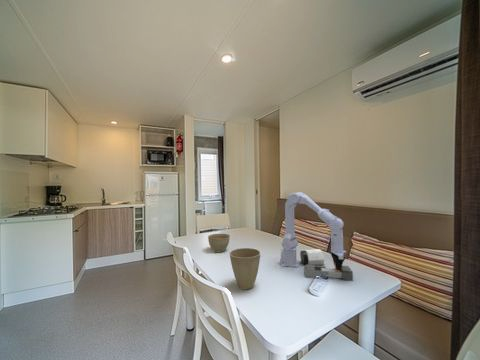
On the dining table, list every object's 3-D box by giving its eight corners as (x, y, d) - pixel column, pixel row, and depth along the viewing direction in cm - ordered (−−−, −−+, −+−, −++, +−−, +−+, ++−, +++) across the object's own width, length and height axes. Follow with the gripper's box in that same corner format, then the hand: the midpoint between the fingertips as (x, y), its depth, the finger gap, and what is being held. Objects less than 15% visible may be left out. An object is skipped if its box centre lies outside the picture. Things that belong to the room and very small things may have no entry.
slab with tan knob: (322, 276, 107) (321, 263, 107) (320, 273, 110) (320, 260, 111) (349, 278, 104) (349, 265, 104) (347, 275, 108) (346, 262, 108)
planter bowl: (229, 254, 145) (229, 238, 146) (206, 254, 146) (206, 239, 146) (230, 247, 161) (230, 233, 162) (210, 247, 162) (209, 233, 162)
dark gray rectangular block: (343, 280, 103) (342, 271, 103) (339, 273, 110) (338, 265, 110) (352, 280, 102) (352, 271, 102) (348, 274, 109) (348, 265, 109)
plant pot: (262, 279, 106) (261, 248, 106) (260, 294, 91) (259, 258, 91) (233, 277, 108) (233, 247, 109) (227, 292, 94) (226, 257, 94)
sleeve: (305, 277, 107) (305, 269, 107) (304, 271, 114) (303, 264, 114) (328, 278, 105) (327, 270, 105) (325, 273, 111) (325, 265, 112)
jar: (325, 263, 120) (305, 264, 120) (321, 265, 127) (302, 266, 127) (322, 247, 124) (302, 248, 124) (318, 250, 131) (299, 251, 131)
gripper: (349, 246, 99) (350, 275, 99) (341, 238, 113) (342, 263, 113) (334, 246, 101) (334, 274, 100) (327, 238, 115) (328, 262, 115)
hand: (337, 268), depth 107 cm, fingers closed on slab with tan knob, 3 cm apart
